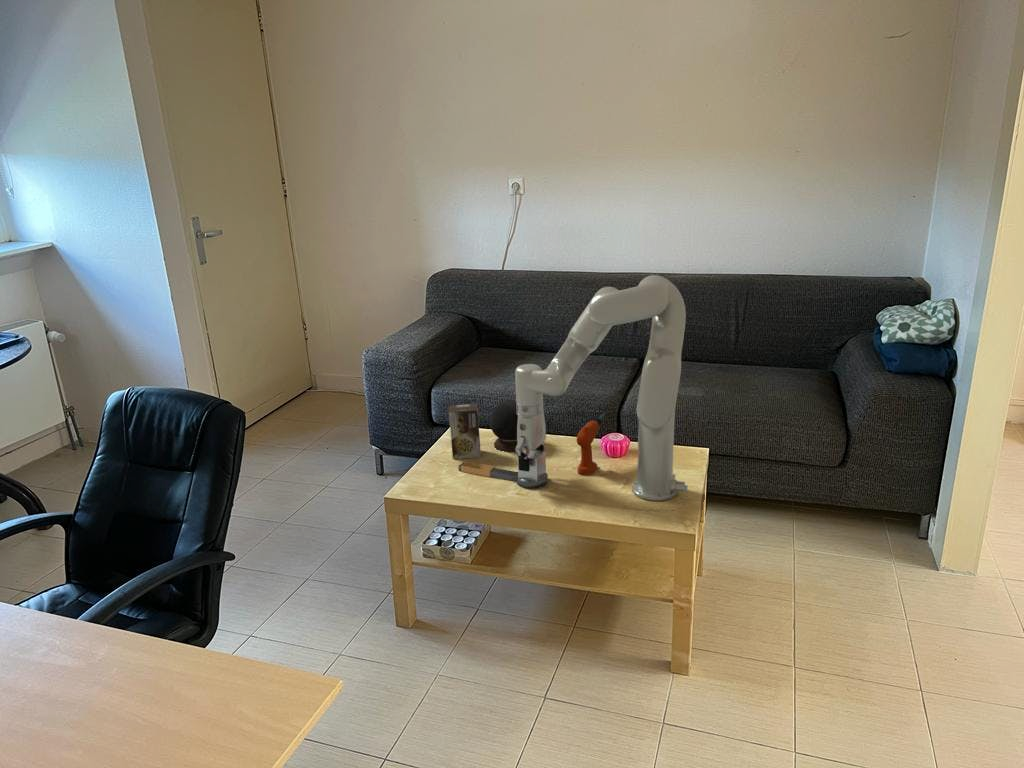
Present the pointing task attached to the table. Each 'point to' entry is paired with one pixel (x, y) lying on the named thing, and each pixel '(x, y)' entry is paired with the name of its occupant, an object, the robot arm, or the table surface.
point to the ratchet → (501, 474)
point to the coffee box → (464, 431)
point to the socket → (534, 466)
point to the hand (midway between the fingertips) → (531, 463)
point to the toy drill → (588, 446)
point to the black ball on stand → (505, 426)
